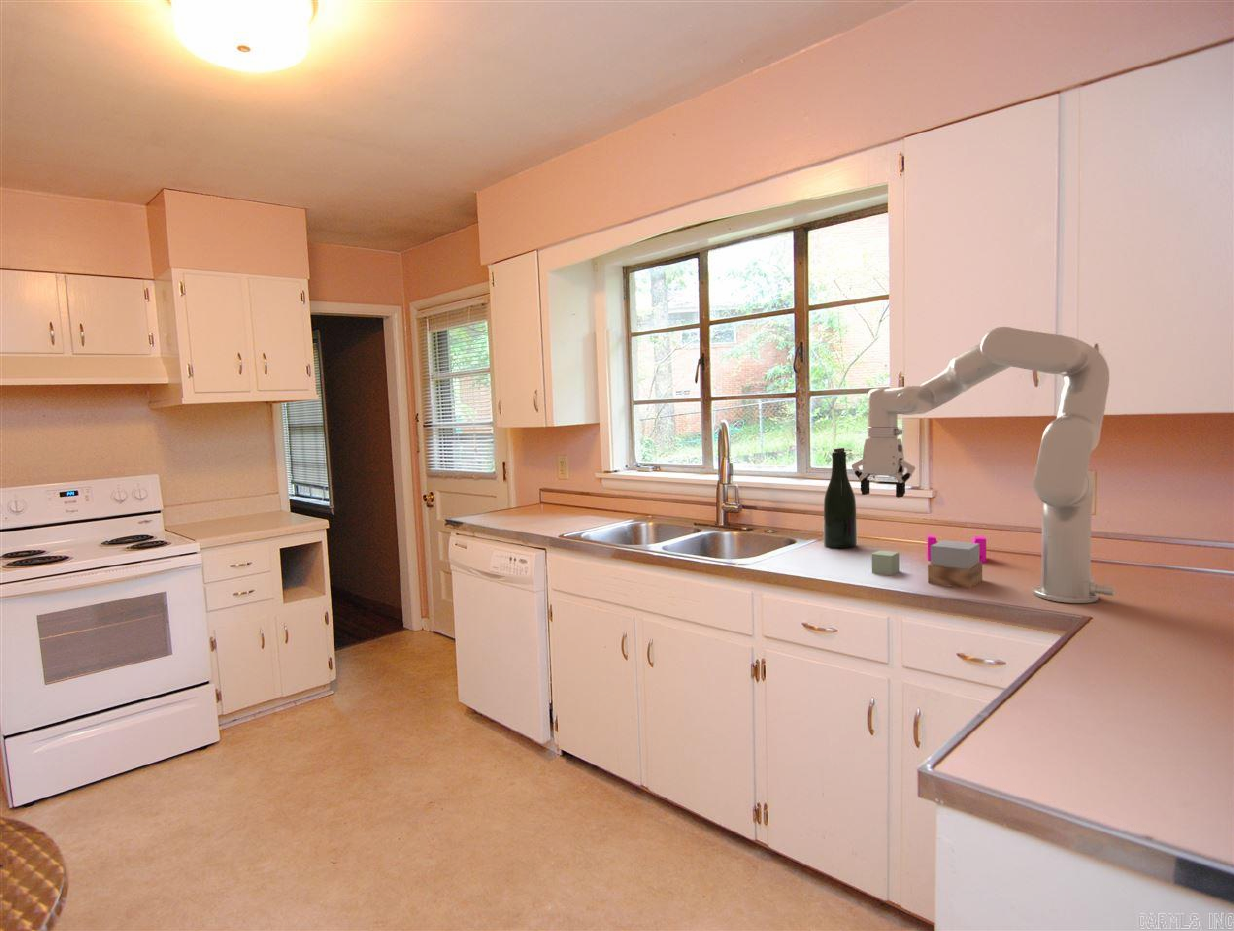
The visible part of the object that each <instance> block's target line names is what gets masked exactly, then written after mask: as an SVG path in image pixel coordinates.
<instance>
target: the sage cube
mask: <svg viewBox="0 0 1234 931" xmlns="http://www.w3.org/2000/svg"><path fill="white" fill-rule="evenodd" d="M900 571H901V570H900V552H898V551H897V552H896V551H888V550H877V551H875V552H873V553H871V573H872V574H877V573H878V575H884V574H886V576H891V575H892V576H893V574H894V575H895V574H897V573H899V572H900Z"/></svg>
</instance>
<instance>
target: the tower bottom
mask: <svg viewBox="0 0 1234 931" xmlns="http://www.w3.org/2000/svg"><path fill="white" fill-rule="evenodd" d="M927 571H928V572H927V580H928V581H927V582H928V584H932V583H935V584H934V585H939V584H942V585H941V586H946V585H950V586H949V587H953V586H956V587H957V588H961V589H962V588H963V589H969V590H972V589H973V588H974V587H975V586H976V585H978V584H979V583H981V580H983V562H979V563H978V564H977V565H975V566H974V567H972V568H970V569H961V568H953V567H944V566H936V565H931V563H930V564H928V566H927ZM977 583H978V584H977ZM956 587H955V588H956Z"/></svg>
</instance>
